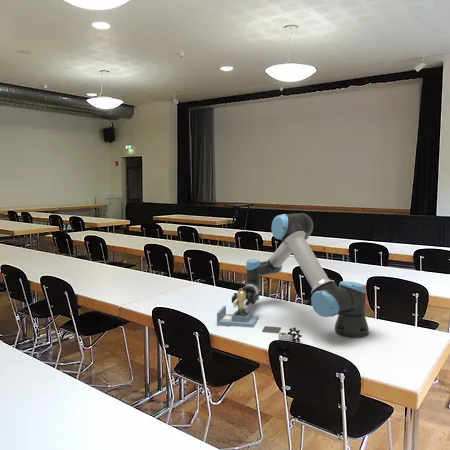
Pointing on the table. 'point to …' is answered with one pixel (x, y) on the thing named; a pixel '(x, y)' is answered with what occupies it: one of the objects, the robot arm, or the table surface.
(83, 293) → the table surface
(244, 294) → the brass peg
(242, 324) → the grey socket fixture
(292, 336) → the valve
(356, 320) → the robot arm
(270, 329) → the pad
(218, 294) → the table surface
